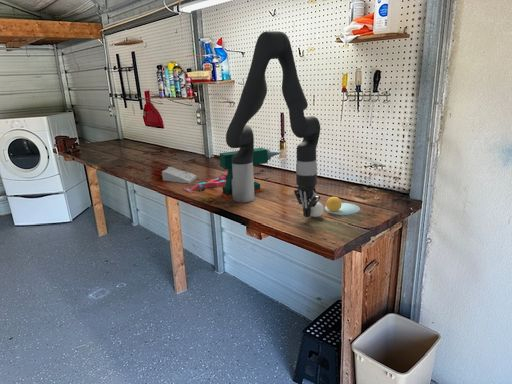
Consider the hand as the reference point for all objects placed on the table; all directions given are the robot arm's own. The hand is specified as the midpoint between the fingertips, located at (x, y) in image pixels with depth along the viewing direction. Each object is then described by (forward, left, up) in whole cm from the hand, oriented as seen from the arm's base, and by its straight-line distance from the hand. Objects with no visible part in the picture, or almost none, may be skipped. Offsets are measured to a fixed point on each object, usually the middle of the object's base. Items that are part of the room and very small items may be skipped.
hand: (306, 216), depth 143 cm
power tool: (-44, +17, -2) cm, 47 cm away
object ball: (+3, +14, +2) cm, 15 cm away
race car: (-68, +9, -2) cm, 69 cm away
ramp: (-95, +10, -2) cm, 96 cm away
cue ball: (0, +5, +2) cm, 5 cm away
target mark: (+4, +19, -2) cm, 19 cm away
